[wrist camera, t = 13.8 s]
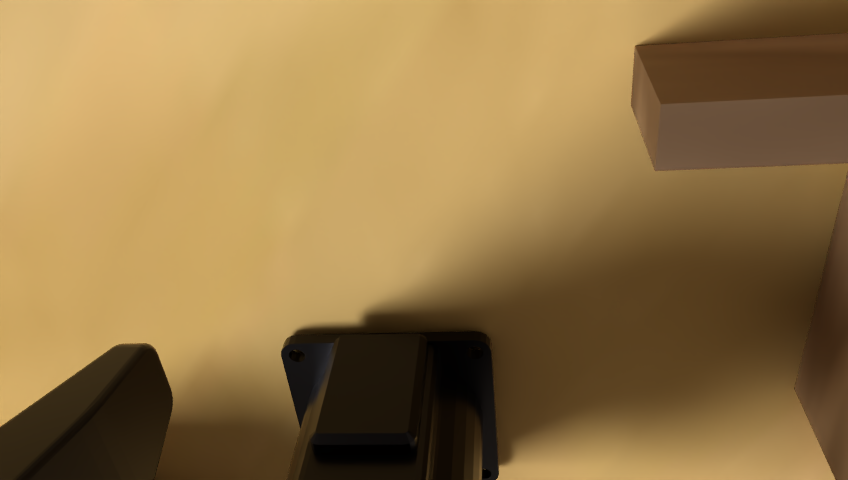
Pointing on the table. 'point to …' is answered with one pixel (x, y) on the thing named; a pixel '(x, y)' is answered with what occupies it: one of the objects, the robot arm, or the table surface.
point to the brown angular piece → (765, 164)
